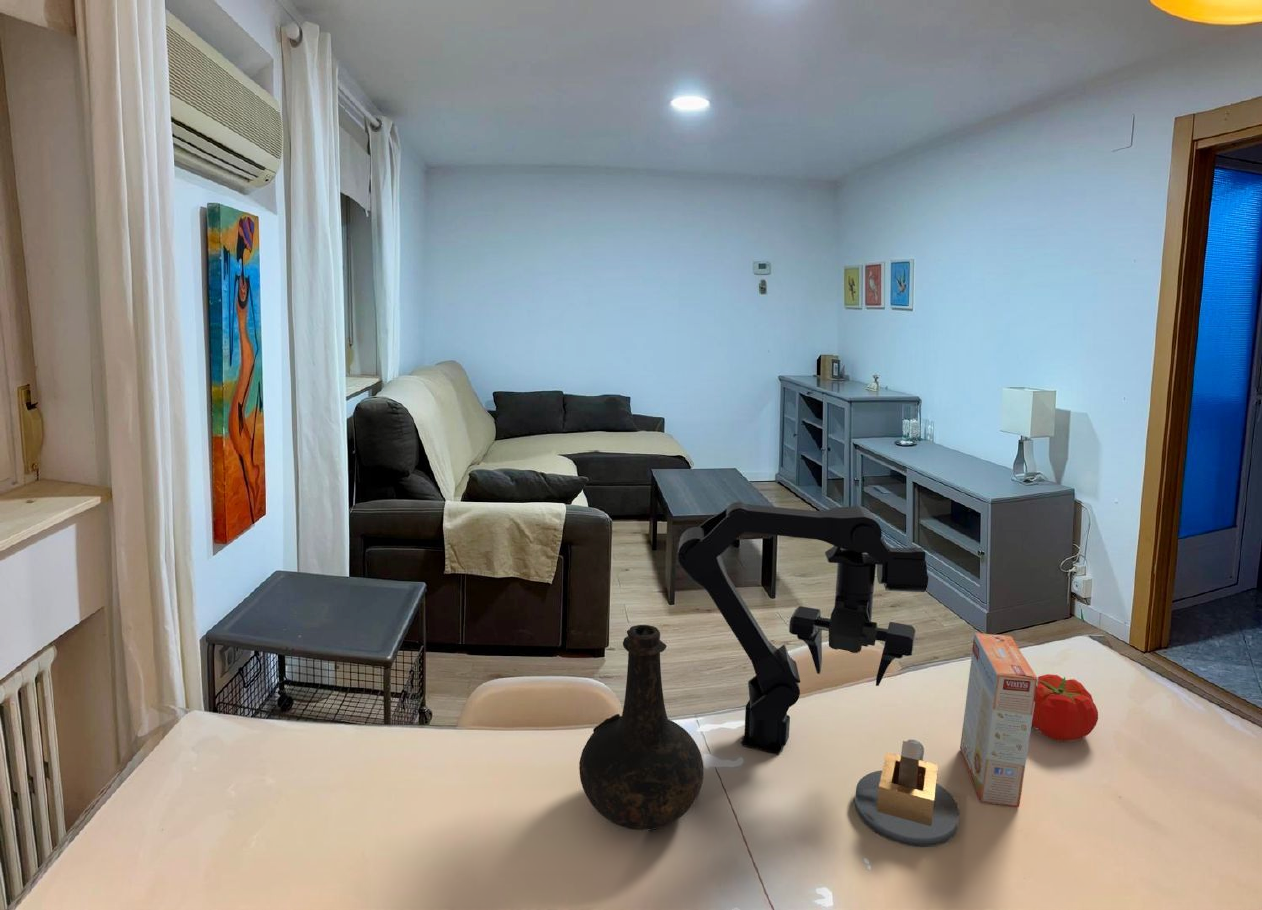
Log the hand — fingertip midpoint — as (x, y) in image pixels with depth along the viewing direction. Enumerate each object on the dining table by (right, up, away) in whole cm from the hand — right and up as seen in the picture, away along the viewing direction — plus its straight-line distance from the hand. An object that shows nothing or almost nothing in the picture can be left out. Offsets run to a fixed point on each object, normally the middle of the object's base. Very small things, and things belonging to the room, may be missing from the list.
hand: (847, 678), depth 125 cm
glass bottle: (-33, -15, -13) cm, 39 cm away
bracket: (+5, -15, -12) cm, 20 cm away
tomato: (+37, -11, +8) cm, 40 cm away
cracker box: (+20, -14, -5) cm, 25 cm away
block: (+5, -13, -14) cm, 20 cm away
